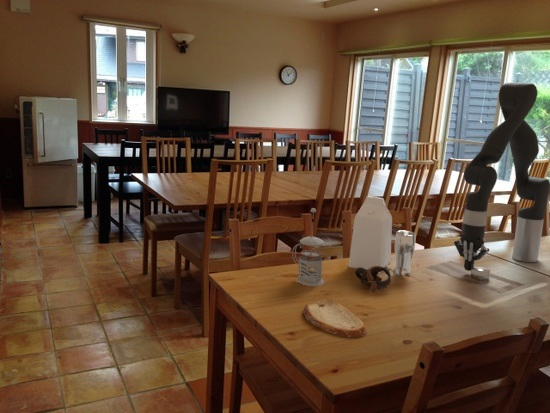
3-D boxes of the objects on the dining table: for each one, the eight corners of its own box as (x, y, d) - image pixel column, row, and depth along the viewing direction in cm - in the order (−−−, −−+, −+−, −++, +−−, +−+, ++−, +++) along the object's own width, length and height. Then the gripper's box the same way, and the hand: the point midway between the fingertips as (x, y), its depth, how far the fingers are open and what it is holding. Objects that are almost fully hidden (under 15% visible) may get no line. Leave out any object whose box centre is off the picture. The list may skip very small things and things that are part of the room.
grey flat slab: (450, 263, 189) (450, 260, 188) (524, 287, 166) (524, 284, 166) (425, 270, 180) (425, 267, 180) (500, 296, 157) (500, 292, 157)
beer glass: (410, 271, 179) (414, 231, 176) (413, 277, 172) (417, 236, 169) (391, 269, 179) (394, 230, 176) (393, 276, 172) (397, 235, 169)
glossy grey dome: (477, 273, 175) (478, 265, 174) (492, 278, 170) (493, 270, 169) (466, 276, 171) (467, 268, 171) (482, 281, 166) (483, 273, 166)
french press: (315, 288, 158) (320, 213, 153) (285, 280, 164) (288, 207, 159) (329, 280, 166) (333, 207, 161) (299, 272, 172) (302, 203, 167)
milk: (390, 265, 184) (396, 197, 179) (379, 273, 175) (385, 202, 169) (360, 259, 191) (365, 193, 185) (348, 266, 181) (353, 197, 176)
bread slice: (366, 340, 125) (367, 326, 124) (296, 331, 129) (297, 318, 128) (367, 312, 142) (368, 300, 142) (306, 305, 146) (306, 293, 145)
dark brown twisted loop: (388, 284, 166) (395, 268, 160) (382, 305, 159) (389, 289, 154) (355, 271, 168) (360, 255, 163) (347, 291, 161) (353, 275, 156)
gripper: (498, 225, 167) (491, 273, 171) (463, 217, 178) (458, 263, 181) (485, 228, 163) (478, 277, 167) (451, 219, 173) (445, 266, 177)
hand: (468, 269), depth 174 cm, fingers closed
